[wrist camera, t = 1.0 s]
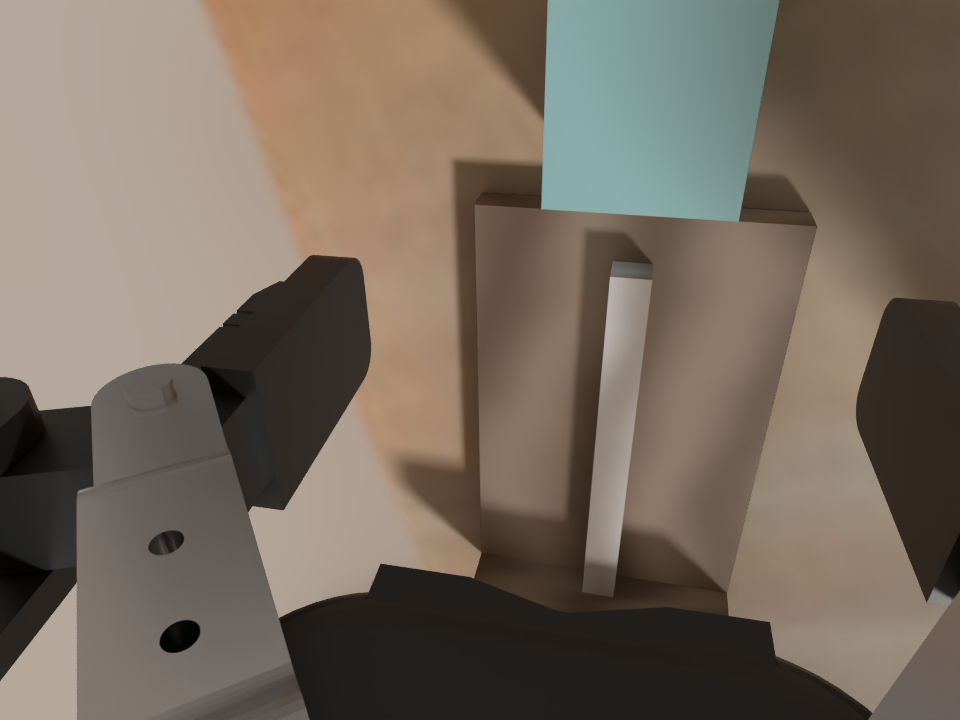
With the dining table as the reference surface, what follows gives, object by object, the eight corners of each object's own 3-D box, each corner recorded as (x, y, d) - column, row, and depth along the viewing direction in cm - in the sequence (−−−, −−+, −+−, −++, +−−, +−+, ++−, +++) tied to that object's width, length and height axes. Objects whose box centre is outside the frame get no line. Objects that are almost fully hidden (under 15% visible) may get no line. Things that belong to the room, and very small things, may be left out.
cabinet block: (758, -46, 24) (785, -31, 18) (724, 155, 27) (738, 221, 22) (577, -45, 25) (548, -31, 19) (568, 148, 29) (541, 209, 23)
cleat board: (810, 212, 28) (840, 277, 23) (718, 596, 39) (725, 695, 34) (482, 192, 30) (445, 247, 25) (487, 558, 42) (462, 645, 37)
